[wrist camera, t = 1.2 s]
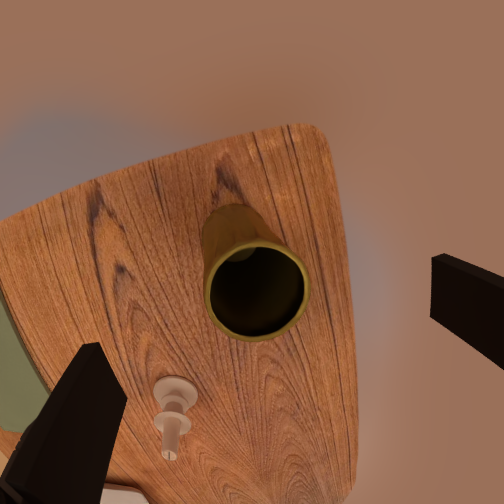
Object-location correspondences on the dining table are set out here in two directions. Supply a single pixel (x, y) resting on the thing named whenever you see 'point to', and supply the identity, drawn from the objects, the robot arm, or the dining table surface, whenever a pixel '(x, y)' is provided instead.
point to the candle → (173, 411)
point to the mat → (17, 378)
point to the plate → (122, 495)
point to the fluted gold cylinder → (251, 276)
